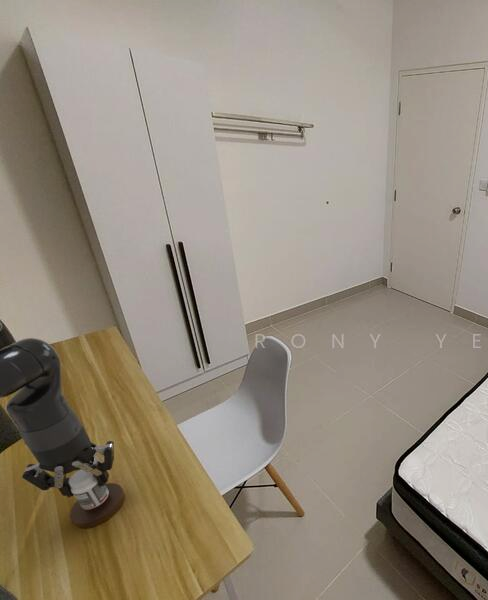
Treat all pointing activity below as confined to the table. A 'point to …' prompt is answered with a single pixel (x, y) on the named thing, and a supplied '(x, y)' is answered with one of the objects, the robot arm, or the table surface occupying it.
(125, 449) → the table surface
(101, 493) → the pill bottle
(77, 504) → the walnut disc
